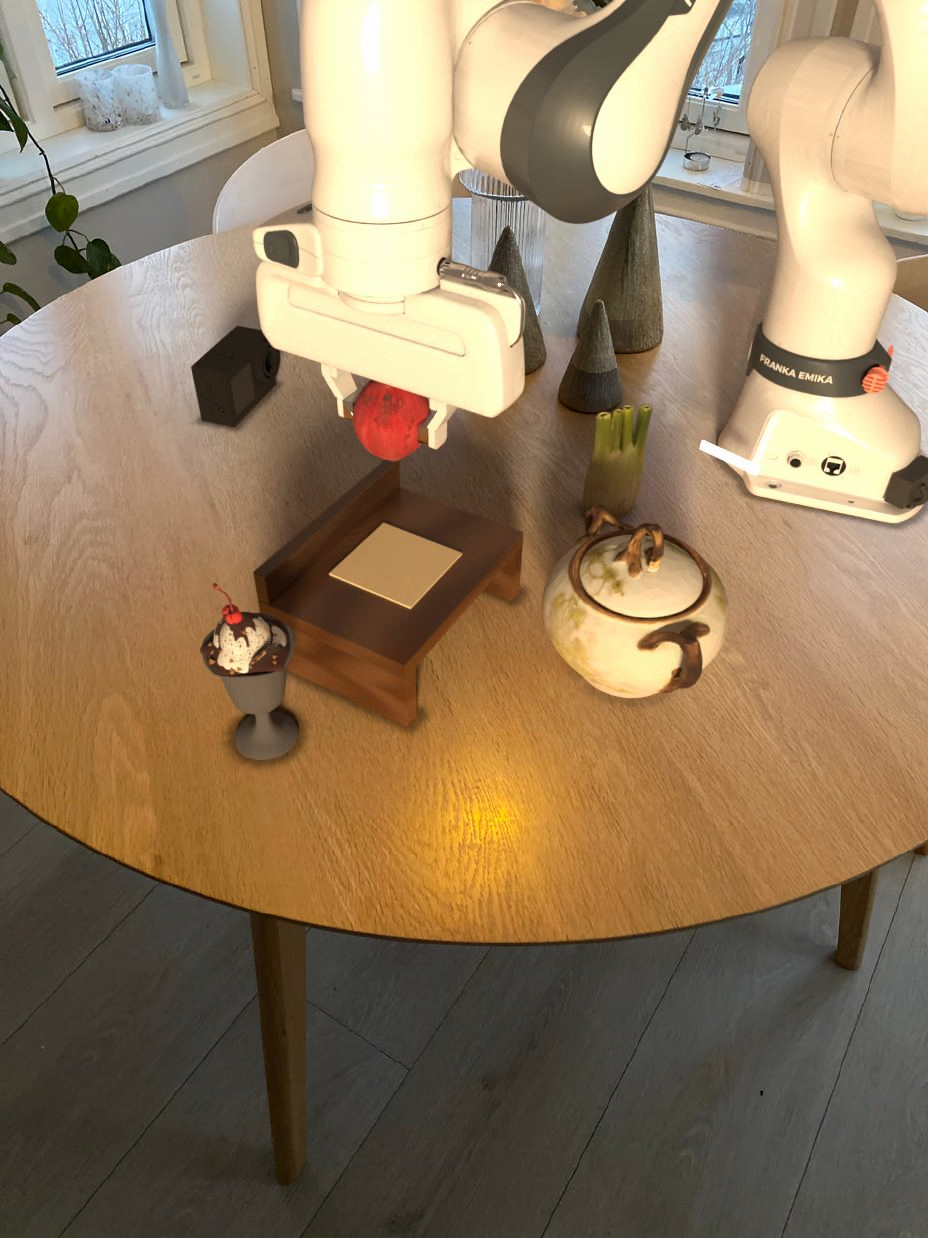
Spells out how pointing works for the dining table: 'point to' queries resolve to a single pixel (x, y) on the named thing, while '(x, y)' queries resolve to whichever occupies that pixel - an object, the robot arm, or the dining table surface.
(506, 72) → the robot arm
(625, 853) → the dining table surface
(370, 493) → the shelf
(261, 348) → the digital camera
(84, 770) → the dining table surface
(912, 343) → the dining table surface
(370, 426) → the pomegranate
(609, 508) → the fennel bulb
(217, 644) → the sundae
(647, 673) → the sugar bowl
